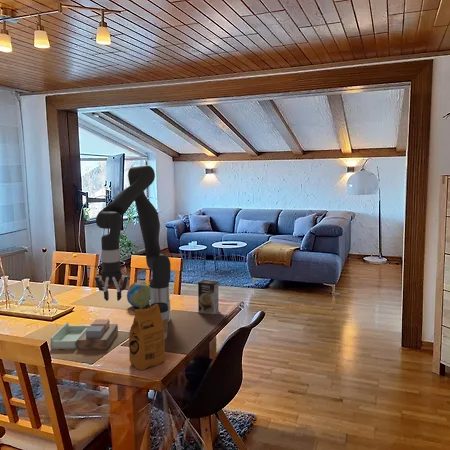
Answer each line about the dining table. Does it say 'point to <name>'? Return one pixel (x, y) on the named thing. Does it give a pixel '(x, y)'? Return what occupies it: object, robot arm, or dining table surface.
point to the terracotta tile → (102, 323)
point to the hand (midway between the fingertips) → (112, 299)
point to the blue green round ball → (139, 295)
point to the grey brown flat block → (98, 339)
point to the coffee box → (208, 297)
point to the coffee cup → (163, 315)
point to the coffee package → (147, 338)
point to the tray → (67, 336)
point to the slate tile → (95, 332)
